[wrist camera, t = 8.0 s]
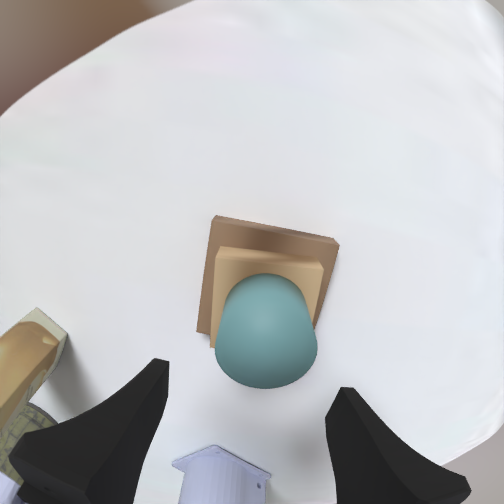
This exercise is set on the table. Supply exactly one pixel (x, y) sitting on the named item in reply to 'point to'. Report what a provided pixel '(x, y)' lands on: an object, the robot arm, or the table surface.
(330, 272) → the walnut slab
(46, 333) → the skincare box
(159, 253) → the table surface
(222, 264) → the oak block
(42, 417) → the thermos
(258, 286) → the teal cylinder
